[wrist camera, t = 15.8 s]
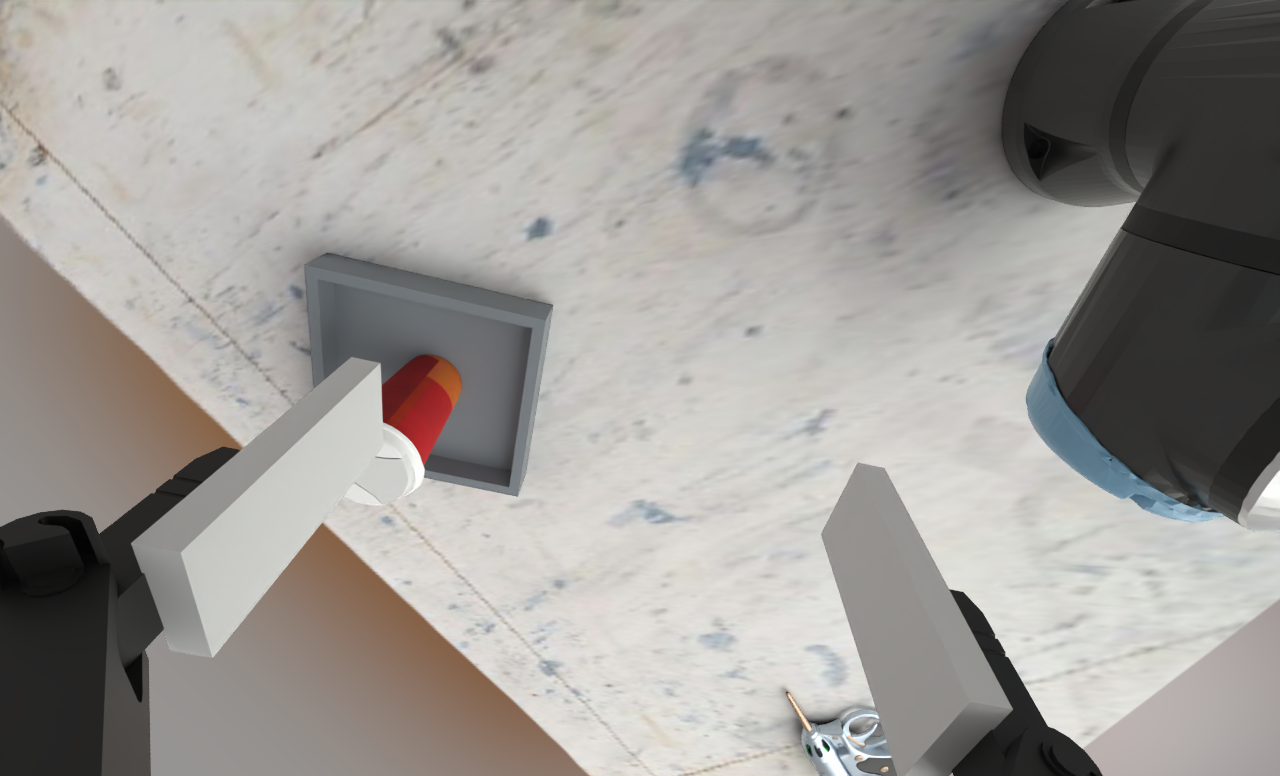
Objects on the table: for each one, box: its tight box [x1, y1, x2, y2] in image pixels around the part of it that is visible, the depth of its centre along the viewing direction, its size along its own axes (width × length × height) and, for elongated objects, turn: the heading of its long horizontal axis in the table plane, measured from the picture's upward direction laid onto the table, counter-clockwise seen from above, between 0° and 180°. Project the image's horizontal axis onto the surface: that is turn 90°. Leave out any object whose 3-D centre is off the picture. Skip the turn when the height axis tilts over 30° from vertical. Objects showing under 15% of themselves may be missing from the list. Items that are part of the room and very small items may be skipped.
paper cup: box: [344, 355, 462, 506], centre depth 46 cm, size 8×8×14 cm
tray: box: [304, 253, 553, 497], centre depth 52 cm, size 20×20×4 cm
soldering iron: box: [785, 691, 897, 776], centre depth 79 cm, size 6×28×16 cm
